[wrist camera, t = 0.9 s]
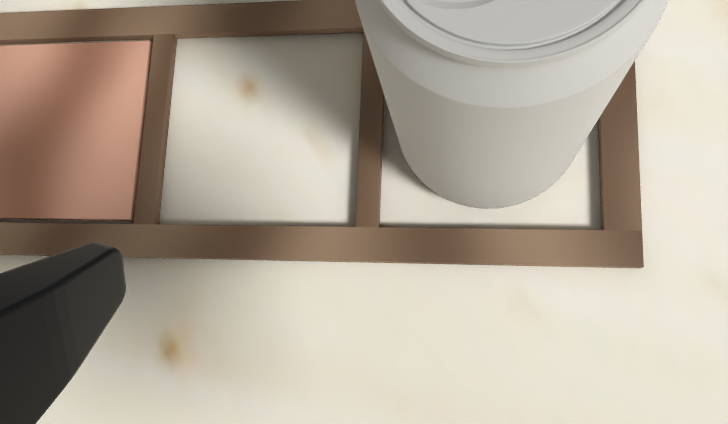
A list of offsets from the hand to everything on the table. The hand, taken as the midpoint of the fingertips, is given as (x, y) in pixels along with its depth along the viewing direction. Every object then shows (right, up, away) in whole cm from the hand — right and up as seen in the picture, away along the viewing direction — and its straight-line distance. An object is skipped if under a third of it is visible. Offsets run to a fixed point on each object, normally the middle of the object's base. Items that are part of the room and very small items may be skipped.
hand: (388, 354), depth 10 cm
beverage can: (+4, +5, +14) cm, 16 cm away
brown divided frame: (-4, +5, +15) cm, 17 cm away
